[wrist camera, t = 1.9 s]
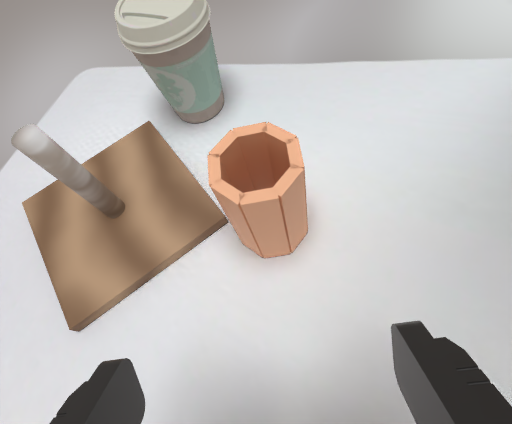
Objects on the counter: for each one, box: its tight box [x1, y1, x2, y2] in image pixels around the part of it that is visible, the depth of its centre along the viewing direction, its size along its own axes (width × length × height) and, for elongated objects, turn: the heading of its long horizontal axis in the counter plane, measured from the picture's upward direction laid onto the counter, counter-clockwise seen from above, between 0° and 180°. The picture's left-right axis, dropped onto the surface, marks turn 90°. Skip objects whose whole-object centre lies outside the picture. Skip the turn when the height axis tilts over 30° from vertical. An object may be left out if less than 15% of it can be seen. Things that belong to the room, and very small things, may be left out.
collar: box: [208, 122, 308, 258], centre depth 24 cm, size 6×6×10 cm
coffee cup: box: [114, 0, 224, 123], centre depth 32 cm, size 8×8×12 cm
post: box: [11, 121, 228, 331], centre depth 27 cm, size 16×16×12 cm
